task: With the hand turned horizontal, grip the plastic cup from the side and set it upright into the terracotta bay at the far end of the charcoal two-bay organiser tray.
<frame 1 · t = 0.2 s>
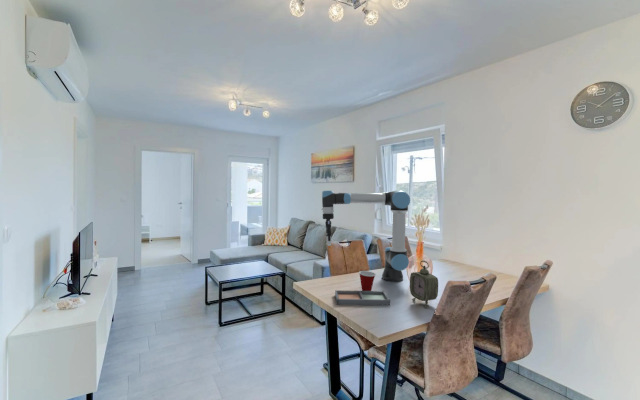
hand: (328, 244, 209), 27 cm above the table, tool pointing down, fingers open, 13 cm apart
organiser tray: (361, 300, 179), on the table
plastic cup: (366, 291, 195), on the table
tabletop clock: (423, 304, 175), on the table
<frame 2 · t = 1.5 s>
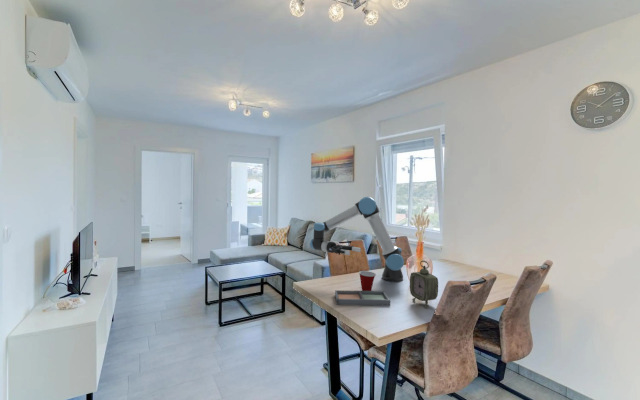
hand: (355, 251, 200), 24 cm above the table, tool horizontal, fingers open, 13 cm apart
nothing on the table moved.
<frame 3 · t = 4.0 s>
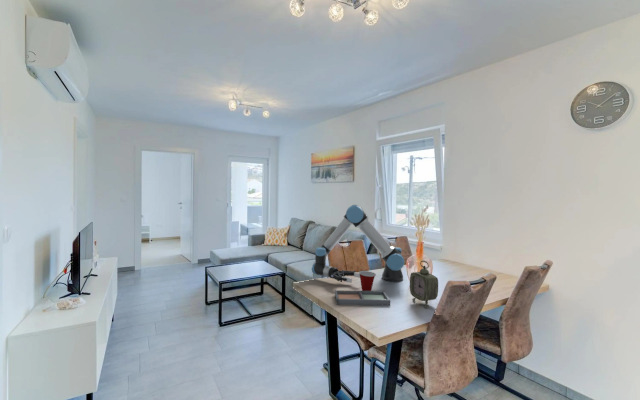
hand: (357, 278, 199), 7 cm above the table, tool horizontal, fingers open, 13 cm apart
nothing on the table moved.
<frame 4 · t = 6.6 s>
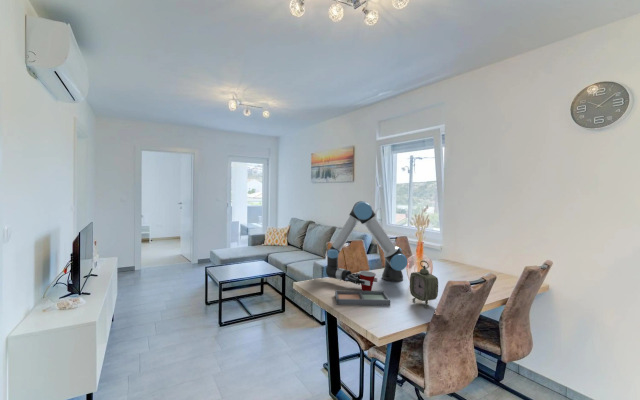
hand: (373, 281, 192), 7 cm above the table, tool horizontal, fingers closed on plastic cup, 9 cm apart
plastic cup: (366, 291, 195), on the table, touching gripper
everything else where it was.
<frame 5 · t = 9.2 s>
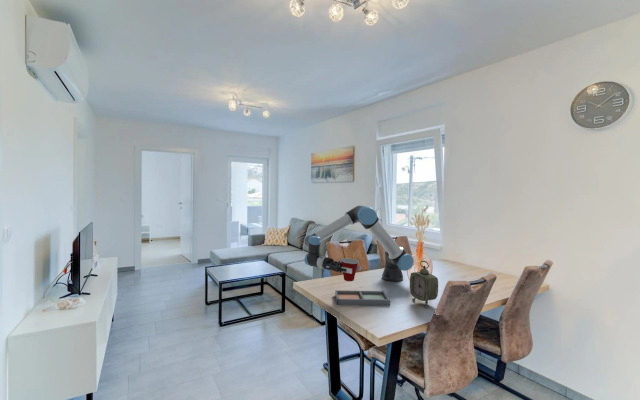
hand: (356, 269, 176), 18 cm above the table, tool horizontal, fingers closed on plastic cup, 9 cm apart
plastic cup: (349, 280, 180), point 11 cm above the table, touching gripper
everything else where it was.
when the fingers open (9 cm above the table, at t = 11.9 s): plastic cup moves 3 cm, resting on organiser tray.
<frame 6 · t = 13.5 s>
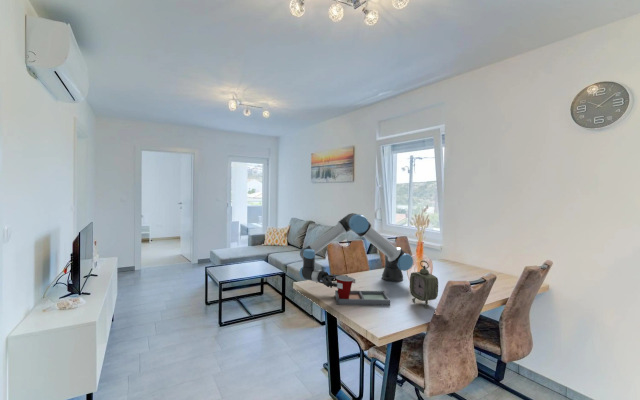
hand: (348, 283, 178), 10 cm above the table, tool horizontal, fingers open, 13 cm apart
plastic cup: (344, 298, 178), point 1 cm above the table, touching organiser tray
everything else where it was.
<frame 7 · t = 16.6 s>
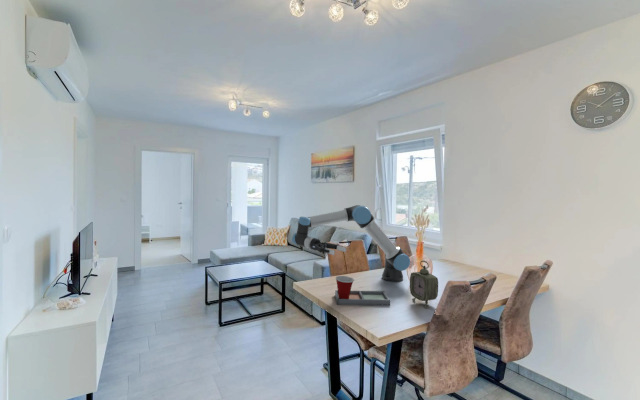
hand: (340, 251, 187), 27 cm above the table, tool horizontal, fingers open, 13 cm apart
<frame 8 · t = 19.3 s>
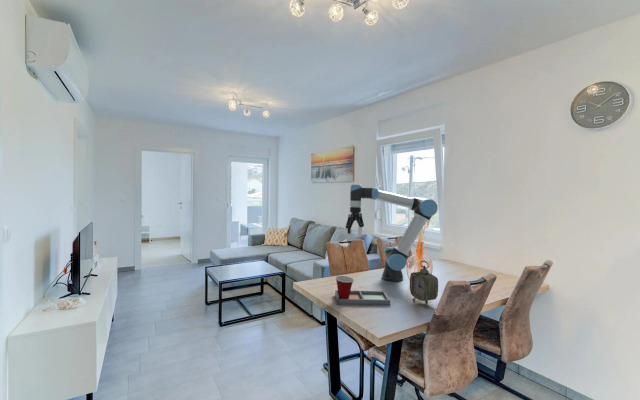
hand: (354, 237, 213), 32 cm above the table, tool pointing down, fingers open, 13 cm apart
nothing on the table moved.
at the end: plastic cup inside the target area on the organiser tray (3.1 cm from its centre), point 1.0 cm above the organiser tray's base; plastic cup tilted 0°; the gripper is holding nothing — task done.
